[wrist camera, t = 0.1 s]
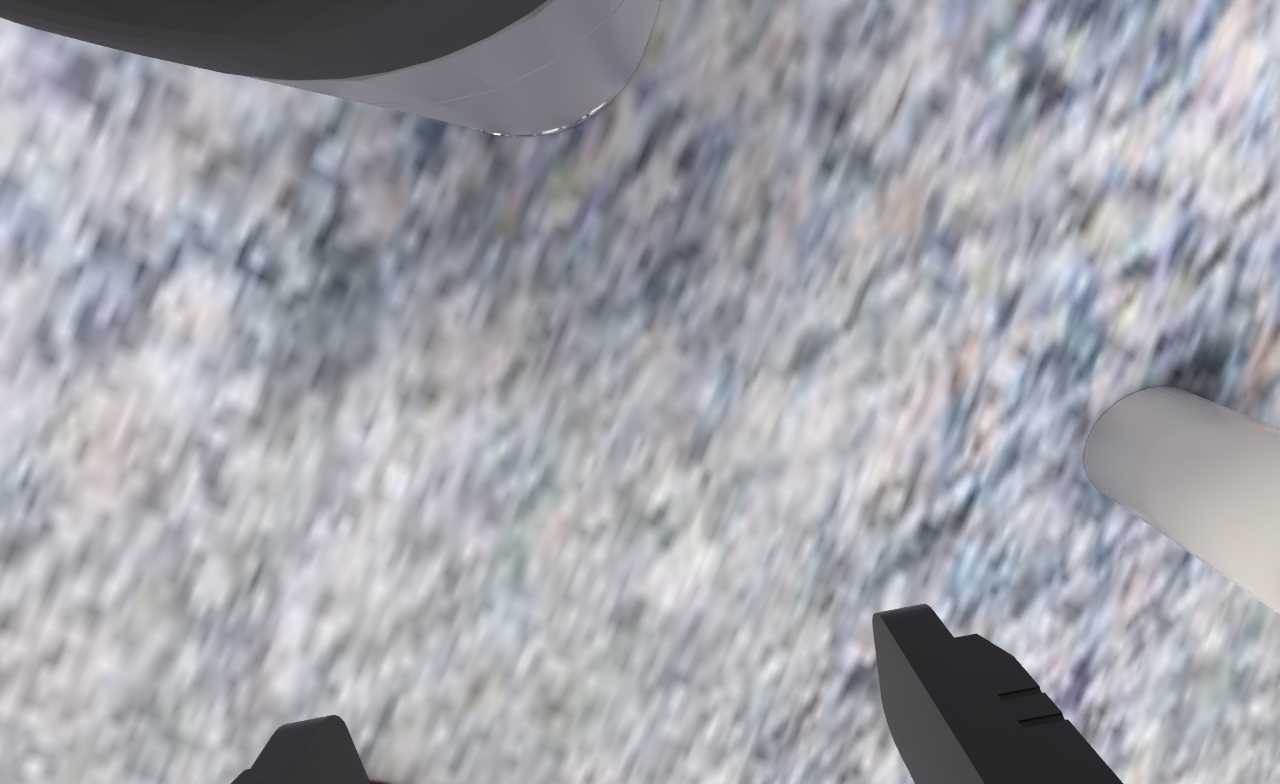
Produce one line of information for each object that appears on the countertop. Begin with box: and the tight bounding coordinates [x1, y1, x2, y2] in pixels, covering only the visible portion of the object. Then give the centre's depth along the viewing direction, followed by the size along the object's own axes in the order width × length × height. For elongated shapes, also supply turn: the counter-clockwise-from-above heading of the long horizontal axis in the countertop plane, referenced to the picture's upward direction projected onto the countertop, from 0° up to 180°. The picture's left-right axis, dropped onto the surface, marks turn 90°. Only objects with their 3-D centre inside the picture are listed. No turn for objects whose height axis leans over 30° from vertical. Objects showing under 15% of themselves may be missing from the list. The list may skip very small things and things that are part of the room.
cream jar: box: [1084, 386, 1280, 614], centre depth 23 cm, size 6×6×11 cm
